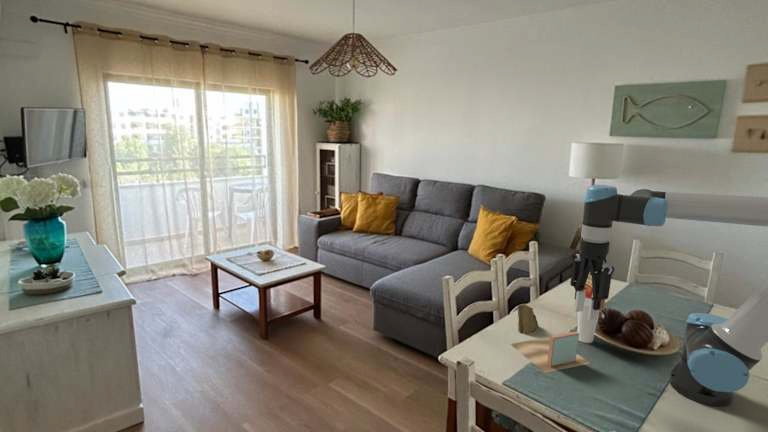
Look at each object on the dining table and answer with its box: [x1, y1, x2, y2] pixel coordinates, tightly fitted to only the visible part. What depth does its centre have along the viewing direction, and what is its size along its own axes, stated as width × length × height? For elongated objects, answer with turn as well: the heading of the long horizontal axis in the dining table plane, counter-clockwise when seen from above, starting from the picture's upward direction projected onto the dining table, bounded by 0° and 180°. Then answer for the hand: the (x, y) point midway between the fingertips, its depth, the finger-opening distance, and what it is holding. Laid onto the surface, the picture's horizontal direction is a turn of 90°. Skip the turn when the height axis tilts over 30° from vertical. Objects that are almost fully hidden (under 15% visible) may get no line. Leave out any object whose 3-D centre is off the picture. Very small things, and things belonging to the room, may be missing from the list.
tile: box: [547, 330, 579, 367], centre depth 133 cm, size 2×10×10 cm, turn 108°
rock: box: [517, 304, 539, 335], centre depth 156 cm, size 11×9×10 cm
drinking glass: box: [576, 298, 600, 344], centre depth 148 cm, size 7×7×15 cm
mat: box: [510, 336, 591, 374], centre depth 140 cm, size 18×18×1 cm
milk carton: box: [573, 272, 606, 313], centre depth 174 cm, size 9×9×20 cm
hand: (585, 314), depth 123 cm, fingers open, 4 cm apart
